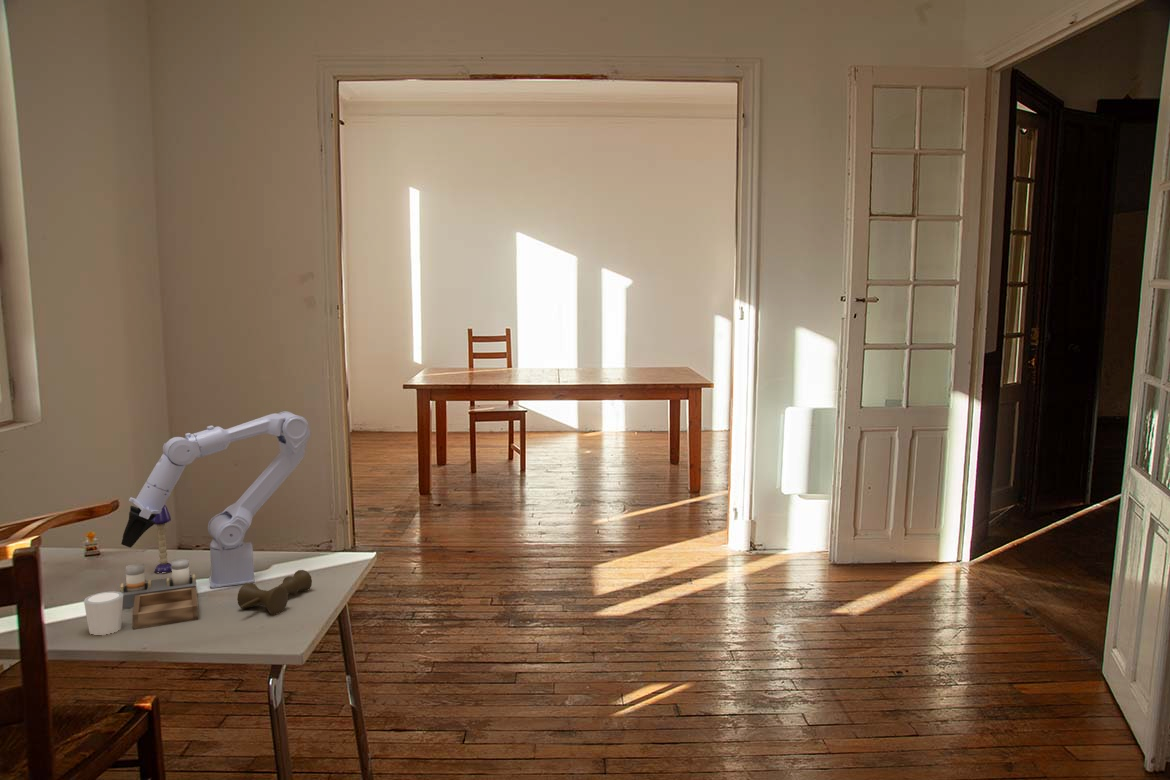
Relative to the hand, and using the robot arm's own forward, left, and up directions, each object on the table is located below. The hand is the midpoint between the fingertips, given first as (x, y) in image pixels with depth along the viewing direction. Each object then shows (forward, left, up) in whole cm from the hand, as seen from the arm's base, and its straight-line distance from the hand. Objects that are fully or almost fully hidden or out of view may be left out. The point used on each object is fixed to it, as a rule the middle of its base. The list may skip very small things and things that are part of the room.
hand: (126, 542), depth 178 cm
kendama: (-29, +16, -14) cm, 36 cm away
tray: (-7, +12, -13) cm, 20 cm away
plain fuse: (-10, +1, -13) cm, 17 cm away
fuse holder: (-6, +1, -13) cm, 15 cm away
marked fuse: (-1, +1, -13) cm, 13 cm away
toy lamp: (-6, -18, -13) cm, 23 cm away
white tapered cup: (+4, +16, -13) cm, 22 cm away
